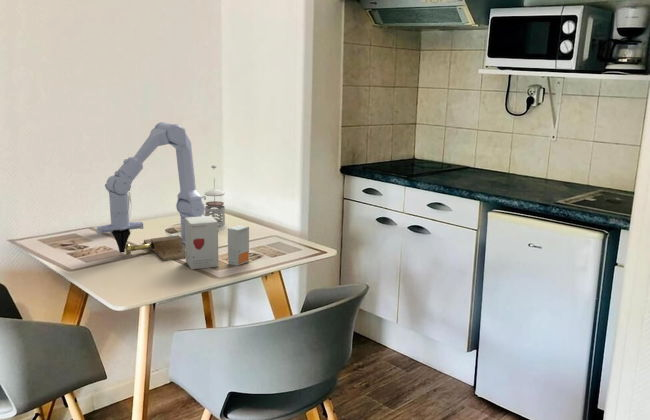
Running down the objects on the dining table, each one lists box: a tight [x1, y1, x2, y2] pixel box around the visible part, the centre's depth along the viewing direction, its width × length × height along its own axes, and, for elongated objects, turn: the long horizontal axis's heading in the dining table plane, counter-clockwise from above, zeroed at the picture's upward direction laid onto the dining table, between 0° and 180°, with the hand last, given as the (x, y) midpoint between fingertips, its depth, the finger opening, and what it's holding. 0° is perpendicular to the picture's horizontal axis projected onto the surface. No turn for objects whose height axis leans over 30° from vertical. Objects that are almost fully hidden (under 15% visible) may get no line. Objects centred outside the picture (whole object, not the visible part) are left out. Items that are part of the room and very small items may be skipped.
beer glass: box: [127, 191, 133, 233], centre depth 225 cm, size 7×7×15 cm
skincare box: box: [227, 224, 250, 267], centre depth 192 cm, size 6×4×12 cm
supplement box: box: [184, 215, 220, 270], centre depth 189 cm, size 9×9×15 cm
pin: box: [125, 243, 154, 255], centre depth 201 cm, size 10×4×4 cm, turn 121°
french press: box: [201, 164, 228, 231], centre depth 234 cm, size 10×12×25 cm
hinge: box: [143, 234, 186, 262], centre depth 205 cm, size 10×24×4 cm, turn 31°
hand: (121, 251), depth 198 cm, fingers closed
